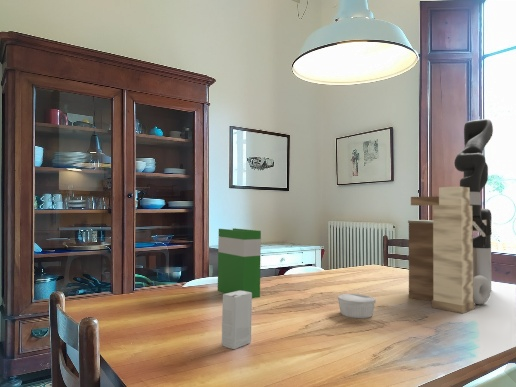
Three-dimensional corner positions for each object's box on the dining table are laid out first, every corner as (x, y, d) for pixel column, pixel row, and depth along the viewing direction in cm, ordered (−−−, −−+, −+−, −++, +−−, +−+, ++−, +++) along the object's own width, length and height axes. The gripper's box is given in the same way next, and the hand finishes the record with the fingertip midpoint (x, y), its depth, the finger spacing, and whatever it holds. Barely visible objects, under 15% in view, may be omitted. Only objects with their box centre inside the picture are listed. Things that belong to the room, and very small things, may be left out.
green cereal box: (217, 290, 152) (218, 228, 153) (233, 288, 156) (234, 228, 157) (243, 299, 137) (244, 231, 138) (259, 297, 142) (260, 230, 143)
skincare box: (238, 339, 95) (239, 289, 96) (252, 343, 93) (253, 292, 93) (220, 346, 91) (221, 293, 91) (234, 350, 88) (235, 296, 88)
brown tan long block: (417, 205, 144) (417, 189, 144) (469, 205, 130) (469, 187, 130) (407, 205, 139) (407, 188, 139) (460, 205, 125) (460, 186, 126)
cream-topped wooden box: (412, 291, 154) (412, 219, 156) (450, 295, 148) (450, 220, 149) (408, 297, 144) (408, 220, 145) (448, 302, 137) (448, 221, 138)
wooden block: (444, 303, 136) (444, 205, 138) (474, 308, 129) (473, 205, 130) (432, 307, 130) (431, 205, 131) (462, 313, 123) (461, 205, 124)
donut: (475, 307, 131) (475, 277, 131) (465, 304, 134) (465, 275, 134) (492, 304, 136) (492, 275, 136) (482, 301, 139) (482, 273, 139)
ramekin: (376, 312, 123) (376, 295, 124) (374, 321, 113) (374, 303, 113) (340, 308, 127) (340, 292, 127) (335, 317, 117) (335, 299, 117)
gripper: (491, 204, 151) (492, 246, 150) (451, 204, 160) (451, 244, 158) (490, 203, 145) (490, 247, 144) (448, 203, 153) (448, 245, 152)
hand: (470, 245), depth 151 cm, fingers open, 8 cm apart
